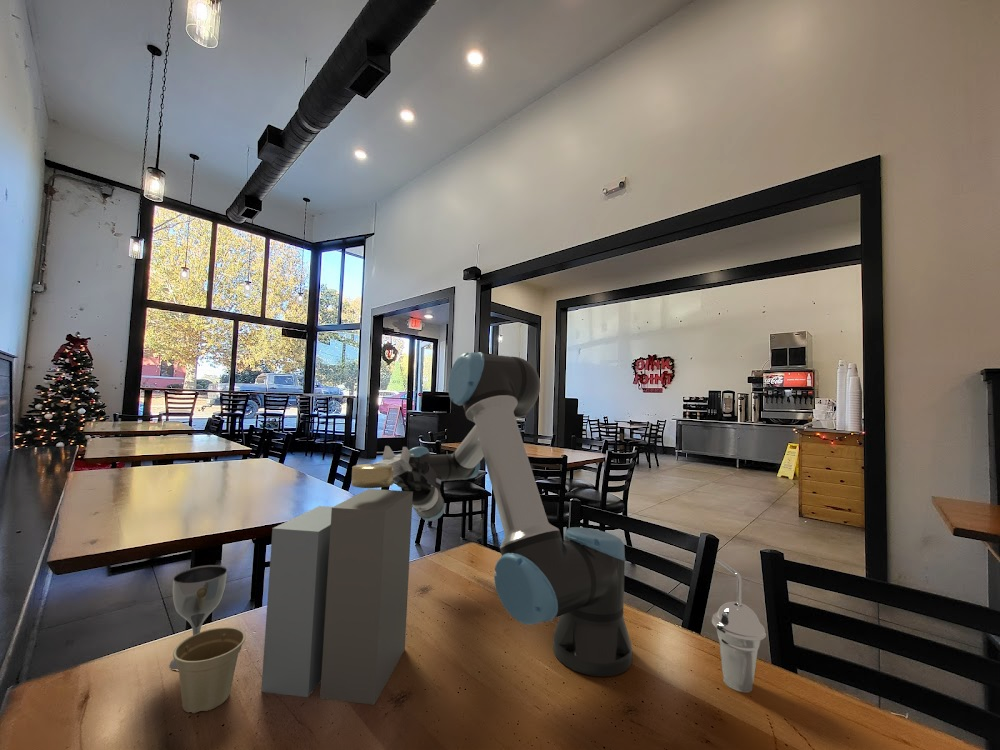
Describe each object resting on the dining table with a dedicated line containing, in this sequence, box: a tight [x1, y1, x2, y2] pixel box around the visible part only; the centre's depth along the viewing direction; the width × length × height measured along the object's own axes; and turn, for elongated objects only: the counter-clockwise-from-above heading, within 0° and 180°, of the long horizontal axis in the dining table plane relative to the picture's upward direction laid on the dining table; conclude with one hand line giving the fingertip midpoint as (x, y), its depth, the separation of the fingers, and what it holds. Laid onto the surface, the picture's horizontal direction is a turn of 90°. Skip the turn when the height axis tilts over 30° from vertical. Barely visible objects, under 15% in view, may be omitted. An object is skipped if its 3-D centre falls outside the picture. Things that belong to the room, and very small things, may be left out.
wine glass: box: [168, 564, 228, 670], centre depth 77 cm, size 8×8×15 cm
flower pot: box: [172, 626, 246, 714], centre depth 67 cm, size 9×9×9 cm
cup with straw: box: [711, 558, 767, 693], centre depth 76 cm, size 8×9×20 cm
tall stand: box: [319, 488, 413, 705], centre depth 76 cm, size 9×15×30 cm, turn 174°
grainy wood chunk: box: [351, 452, 414, 489], centre depth 83 cm, size 7×23×3 cm, turn 174°
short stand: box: [260, 505, 333, 698], centre depth 76 cm, size 8×15×26 cm, turn 174°
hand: (394, 452), depth 86 cm, fingers closed on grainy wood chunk, 3 cm apart
